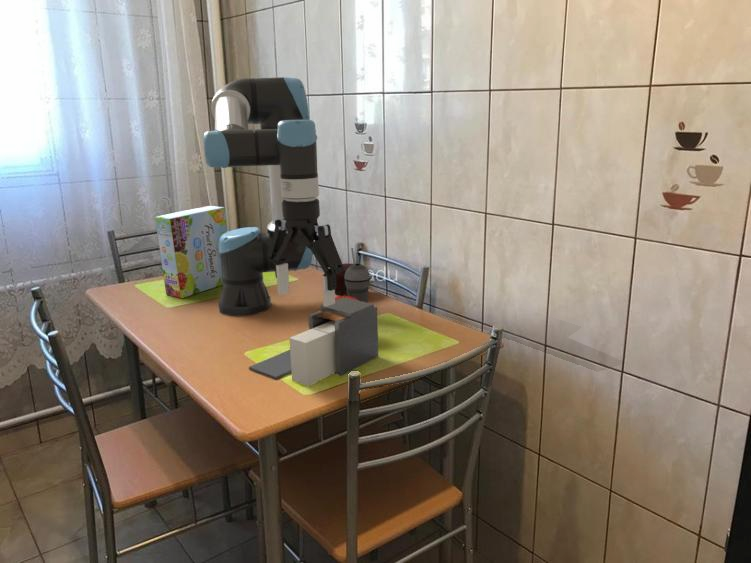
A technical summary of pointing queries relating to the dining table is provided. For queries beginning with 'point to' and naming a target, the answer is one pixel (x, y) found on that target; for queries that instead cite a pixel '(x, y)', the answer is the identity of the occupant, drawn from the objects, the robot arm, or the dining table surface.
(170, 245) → the snack box
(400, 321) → the dining table surface
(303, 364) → the white rectangular block
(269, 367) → the mat
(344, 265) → the potato
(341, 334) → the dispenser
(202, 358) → the dining table surface
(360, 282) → the beverage cup
